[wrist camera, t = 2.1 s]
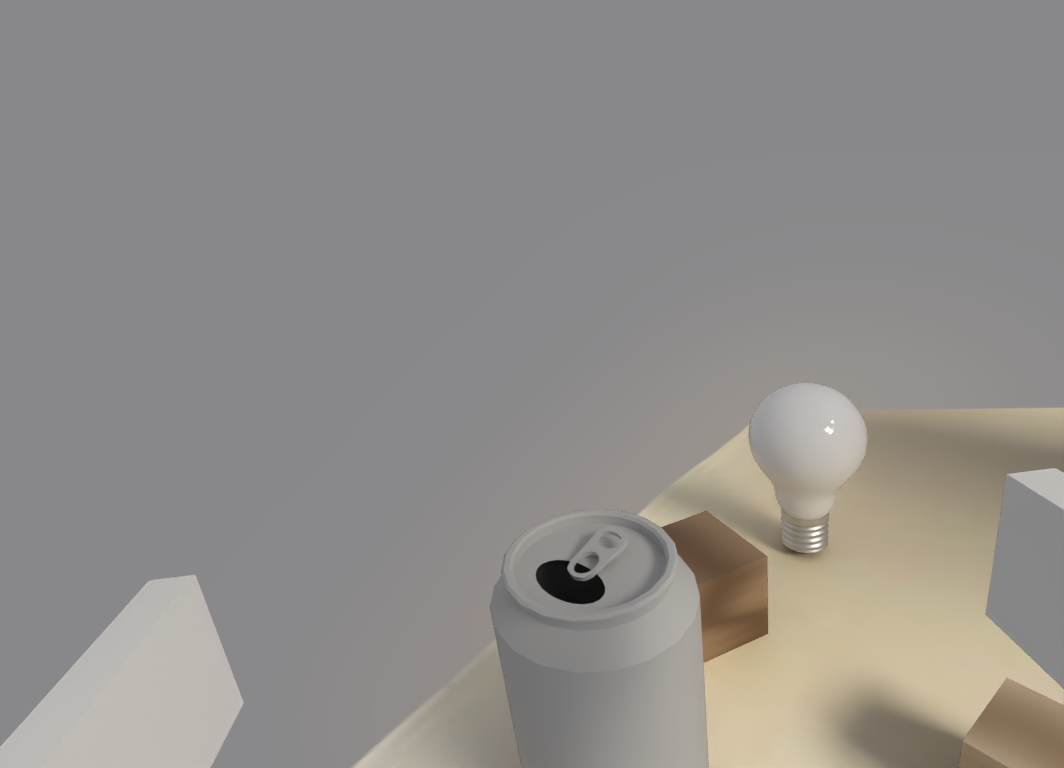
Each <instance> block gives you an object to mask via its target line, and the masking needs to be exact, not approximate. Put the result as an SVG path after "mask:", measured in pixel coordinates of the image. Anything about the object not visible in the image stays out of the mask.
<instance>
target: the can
mask: <svg viewBox="0 0 1064 768" xmlns="http://www.w3.org/2000/svg"><path fill="white" fill-rule="evenodd" d="M501 574H502V576H501V577H500V579H499V580H498V582H497V583H496V585H495V587H494V591H493V596H492V601H491V606H490V610H491V615H492V619H493V625H494V630H495V635H496V640H497V645H498V650H499V655H500V660H501V666H502V671H503V676H504V681H505V686H506V691H507V696H508V701H509V706H510V711H511V716H512V721H513V726H514V731H515V736H516V741H517V746H518V751H519V756H520V761H521V766H522V768H709V760H708V741H707V722H706V703H705V684H704V665H703V646H702V627H701V608H700V594H699V590H698V587H697V583H696V579H695V576H694V573H693V572H692V571H691V569H690V568H689V567H688V566H687V564H686V563H685V562H684V561H683V560H682V558H681V557H680V556H679V555H678V554H677V550H676V546H675V543H674V542H673V540H672V539H671V538H670V537H669V536H668V534H667V533H666V532H665V531H664V530H663V529H662V528H661V527H659V526H657V525H656V524H654V523H652V522H651V521H649V520H647V519H646V518H644V517H641V516H637V515H634V514H631V513H627V512H624V511H618V510H608V509H588V510H575V511H571V512H568V513H564V514H560V515H556V516H553V517H550V518H548V519H546V520H544V521H542V522H539V523H537V524H535V525H533V526H532V527H530V528H529V529H528V530H527V531H525V532H524V533H523V534H522V535H520V536H519V537H518V538H517V539H515V540H514V542H513V543H512V545H511V546H510V548H509V549H508V551H507V552H506V554H505V555H504V560H503V565H502V570H501Z"/></svg>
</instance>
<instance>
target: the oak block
mask: <svg viewBox="0 0 1064 768" xmlns="http://www.w3.org/2000/svg"><path fill="white" fill-rule="evenodd" d="M959 768H1064V705H1062V704H1060V703H1058V702H1056V701H1054V700H1052V699H1050V698H1048V697H1046V696H1044V695H1041V694H1039V693H1037V692H1035V691H1033V690H1031V689H1029V688H1027V687H1025V686H1023V685H1021V684H1019V683H1017V682H1015V681H1013V680H1010V679H1008V678H1006V680H1005V681H1004V682H1003V684H1002V685H1001V687H1000V688H999V690H998V691H997V692H996V694H995V695H994V697H993V698H992V699H991V701H990V702H989V704H988V705H987V707H986V708H985V709H984V711H983V712H982V714H981V715H980V716H979V718H978V719H977V721H976V722H975V724H974V725H973V726H972V728H971V729H970V731H969V732H968V733H967V735H966V736H965V738H964V739H963V741H962V747H961V754H960V761H959Z"/></svg>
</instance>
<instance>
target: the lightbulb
mask: <svg viewBox="0 0 1064 768" xmlns="http://www.w3.org/2000/svg"><path fill="white" fill-rule="evenodd" d="M749 445H750V449H751V452H752V455H753V457H754V459H755V461H756V463H757V465H758V466H759V467H760V469H761V470H762V472H763V473H764V474H765V475H766V476H767V478H768V479H769V480H770V481H771V483H772V485H773V487H774V490H775V495H776V499H777V501H778V504H779V505H780V507H781V514H782V516H781V520H782V522H781V526H782V527H781V532H782V533H781V540H782V542H783V543H784V544H785V545H786V546H787V547H788V548H790V549H792V550H794V551H797V552H801V553H816V552H819V551H822V550H823V549H825V548H826V547H827V545H828V526H829V525H828V521H829V512H830V510H831V509H832V507H833V506H834V503H835V500H836V496H837V493H838V491H839V489H840V488H841V487H842V486H843V485H844V484H845V483H846V482H847V481H848V480H849V479H850V478H851V477H852V476H853V475H854V474H855V472H856V471H857V470H858V468H859V467H860V465H861V464H862V462H863V460H864V457H865V454H866V451H867V445H868V433H867V428H866V424H865V421H864V418H863V416H862V414H861V413H860V411H859V409H858V408H857V407H856V405H855V404H854V403H853V402H852V401H851V400H850V399H849V398H848V397H846V396H845V395H844V394H842V393H841V392H839V391H837V390H835V389H833V388H831V387H828V386H825V385H822V384H817V383H796V384H791V385H787V386H784V387H782V388H779V389H777V390H775V391H774V392H772V393H771V394H769V395H768V396H767V397H766V398H765V399H764V400H763V401H762V402H761V403H760V404H759V405H758V407H757V408H756V410H755V412H754V414H753V416H752V419H751V422H750V426H749Z"/></svg>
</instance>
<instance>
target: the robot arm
mask: <svg viewBox="0 0 1064 768" xmlns="http://www.w3.org/2000/svg"><path fill="white" fill-rule="evenodd" d="M986 615H987V616H988V617H989V618H990V619H991V620H992V621H993V622H994V623H995V624H996V625H997V626H998V627H999V628H1000V629H1001V630H1002V631H1003V632H1004V633H1006V634H1007V635H1008V636H1009V637H1010V638H1011V639H1012V640H1013V641H1014V642H1015V643H1016V644H1017V645H1018V646H1019V647H1020V648H1021V649H1022V650H1023V651H1024V652H1025V653H1027V654H1028V655H1029V656H1030V657H1031V658H1032V659H1033V660H1034V661H1035V662H1036V663H1037V664H1038V665H1039V666H1040V667H1041V668H1042V669H1043V670H1044V671H1045V672H1046V673H1047V674H1049V675H1050V676H1051V677H1052V678H1053V679H1054V680H1055V681H1056V682H1057V683H1058V684H1059V685H1060V686H1061V687H1062V688H1063V689H1064V472H1062V471H1060V470H1058V469H1057V468H1050V469H1042V470H1034V471H1026V472H1018V473H1010V474H1006V481H1005V487H1004V494H1003V501H1002V508H1001V514H1000V521H999V528H998V534H997V541H996V548H995V554H994V561H993V568H992V575H991V581H990V588H989V595H988V601H987V608H986ZM242 705H243V700H242V697H241V695H240V692H239V689H238V687H237V684H236V682H235V679H234V676H233V674H232V671H231V669H230V666H229V663H228V660H227V658H226V655H225V653H224V650H223V647H222V645H221V642H220V639H219V637H218V634H217V631H216V629H215V626H214V623H213V621H212V618H211V616H210V613H209V610H208V608H207V605H206V602H205V600H204V597H203V594H202V592H201V589H200V587H199V584H198V581H197V579H196V576H195V575H190V576H182V577H175V578H166V579H158V580H149V581H148V582H147V584H146V585H145V586H144V587H143V588H142V589H141V590H140V591H139V593H138V594H137V595H136V596H135V597H134V598H133V599H132V600H131V601H130V603H129V604H128V605H127V606H126V607H125V608H124V610H123V611H122V612H121V613H120V614H119V615H118V616H117V617H116V618H115V619H114V620H113V622H112V623H111V624H110V625H109V626H108V627H107V628H106V629H105V631H104V632H103V633H102V634H101V635H100V636H99V637H98V638H97V640H96V641H95V642H94V643H93V644H92V645H91V646H90V647H89V648H88V650H87V651H86V652H85V653H84V654H83V655H82V656H81V657H80V658H79V660H78V661H77V662H76V663H75V664H74V665H73V666H72V668H71V669H70V670H69V671H68V672H67V673H66V674H65V675H64V676H63V678H62V679H61V680H60V681H59V682H58V683H57V684H56V685H55V686H54V688H53V689H52V690H51V691H50V692H49V693H48V694H47V695H46V697H45V698H44V699H43V700H42V701H41V702H40V703H39V704H38V705H37V707H36V708H35V709H34V710H33V711H32V712H31V713H30V714H29V716H28V717H27V718H26V719H25V720H24V721H23V722H22V723H21V724H20V726H19V727H18V728H17V729H16V730H15V731H14V733H12V735H11V736H10V737H9V738H8V739H7V740H6V741H5V742H4V744H3V745H2V746H1V747H0V768H210V767H211V765H212V764H213V762H214V760H215V758H216V756H217V754H218V752H219V750H220V748H221V746H222V744H223V742H224V740H225V738H226V736H227V734H228V732H229V730H230V729H231V726H232V725H233V723H234V721H235V719H236V717H237V715H238V713H239V711H240V709H241V707H242Z"/></svg>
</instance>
